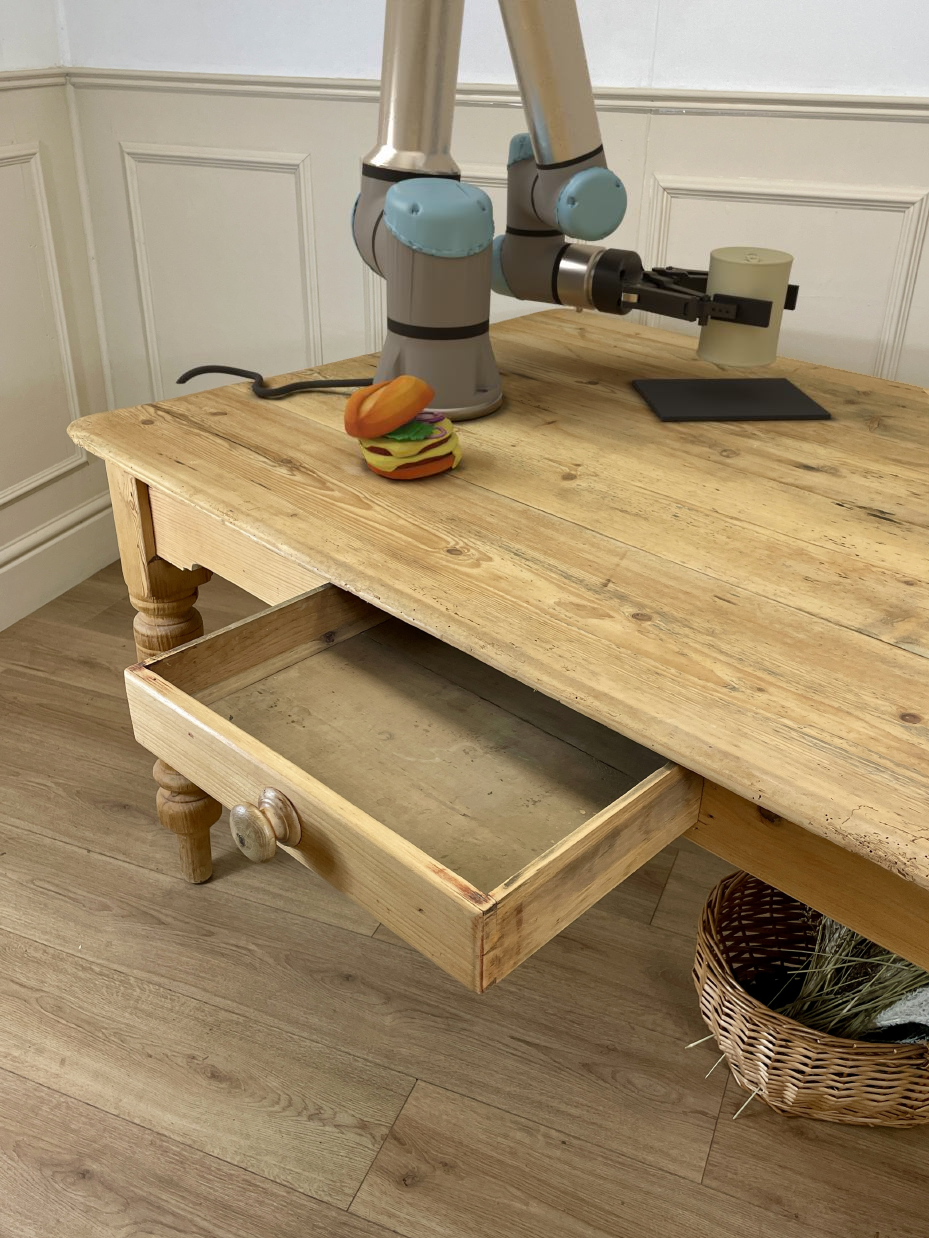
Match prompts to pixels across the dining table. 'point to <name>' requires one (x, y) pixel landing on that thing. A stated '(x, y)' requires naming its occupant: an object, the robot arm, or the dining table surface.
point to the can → (749, 278)
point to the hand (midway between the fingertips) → (783, 306)
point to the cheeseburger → (401, 429)
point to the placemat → (728, 399)
